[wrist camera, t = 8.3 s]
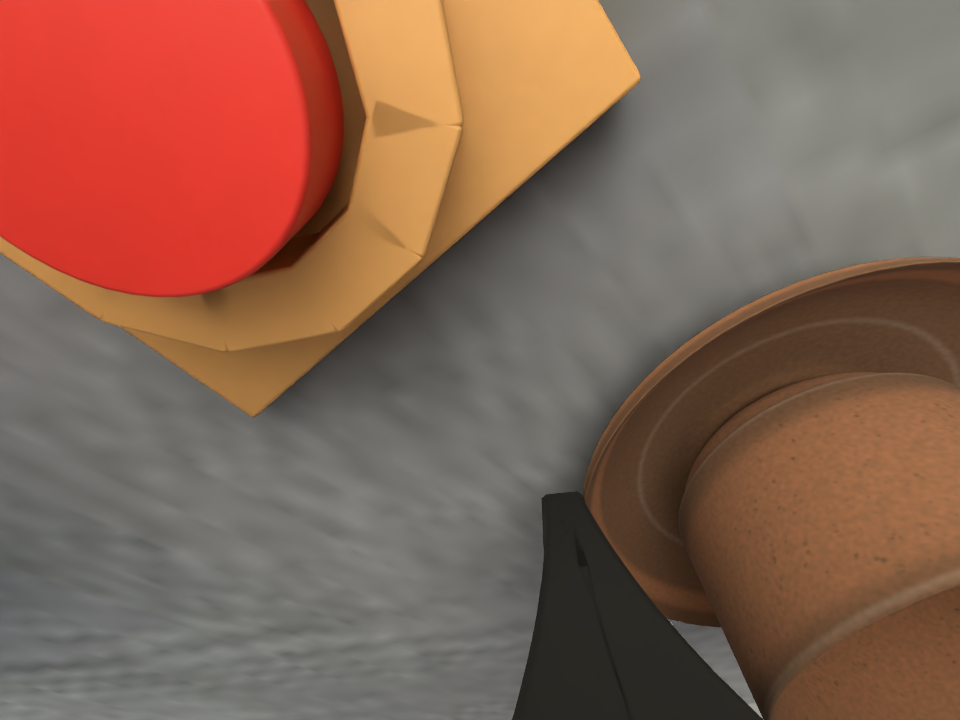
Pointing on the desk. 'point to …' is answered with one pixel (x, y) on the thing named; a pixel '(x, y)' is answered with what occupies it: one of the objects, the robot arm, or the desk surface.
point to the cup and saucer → (807, 491)
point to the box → (388, 177)
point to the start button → (163, 137)
